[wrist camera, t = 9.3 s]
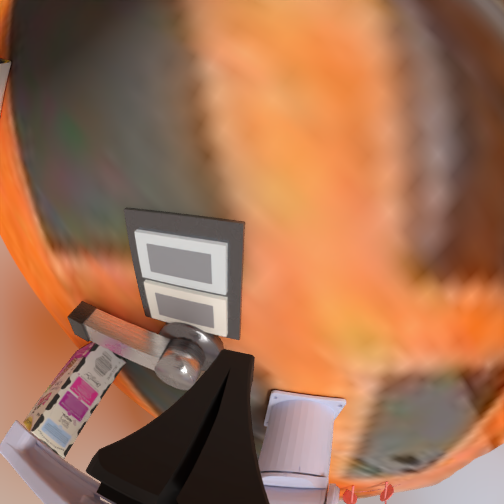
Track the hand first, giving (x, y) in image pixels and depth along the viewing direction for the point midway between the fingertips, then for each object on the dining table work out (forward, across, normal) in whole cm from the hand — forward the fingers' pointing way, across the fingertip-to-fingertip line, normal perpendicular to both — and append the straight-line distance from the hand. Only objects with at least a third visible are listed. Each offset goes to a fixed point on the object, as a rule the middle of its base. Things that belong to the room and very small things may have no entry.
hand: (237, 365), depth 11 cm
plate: (+8, +6, +2) cm, 11 cm away
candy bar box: (+8, +23, +19) cm, 31 cm away
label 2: (+8, +6, +5) cm, 11 cm away
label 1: (+8, +6, 0) cm, 10 cm away
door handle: (+7, +12, +9) cm, 16 cm away
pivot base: (+8, +6, +10) cm, 14 cm away
